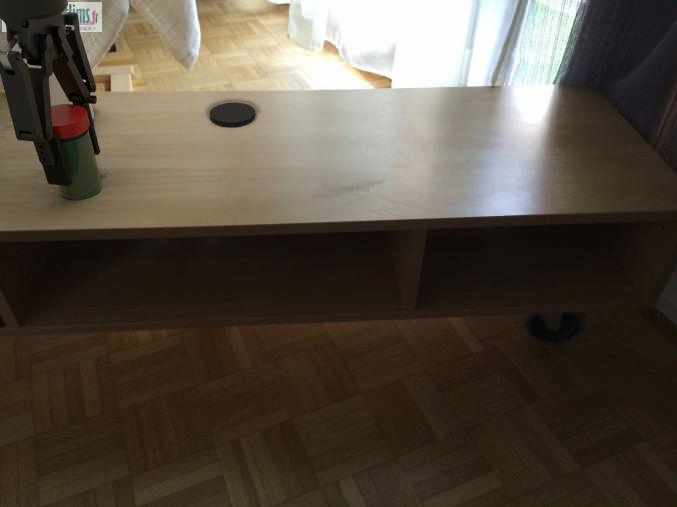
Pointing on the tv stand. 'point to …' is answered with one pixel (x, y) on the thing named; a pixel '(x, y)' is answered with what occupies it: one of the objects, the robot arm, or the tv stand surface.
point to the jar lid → (69, 120)
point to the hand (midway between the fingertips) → (75, 167)
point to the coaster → (232, 114)
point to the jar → (80, 167)
